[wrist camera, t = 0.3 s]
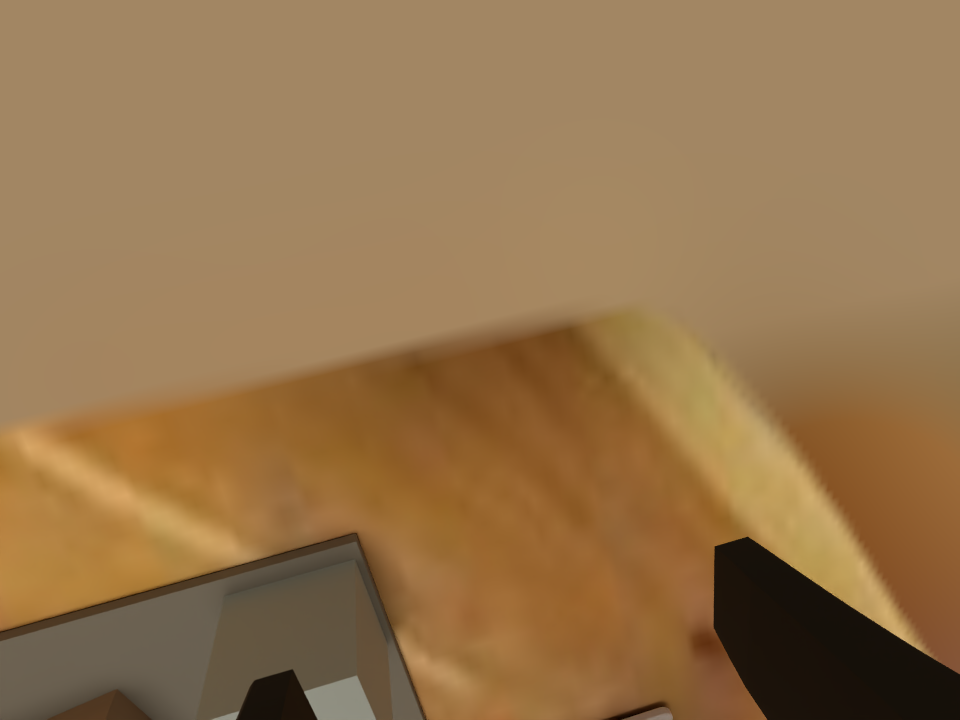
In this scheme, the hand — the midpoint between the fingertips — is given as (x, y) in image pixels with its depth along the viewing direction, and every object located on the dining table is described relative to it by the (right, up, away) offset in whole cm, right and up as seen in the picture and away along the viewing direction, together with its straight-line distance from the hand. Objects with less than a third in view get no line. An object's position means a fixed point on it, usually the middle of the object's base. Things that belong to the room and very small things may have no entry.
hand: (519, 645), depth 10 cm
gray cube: (-7, -5, +11) cm, 14 cm away
